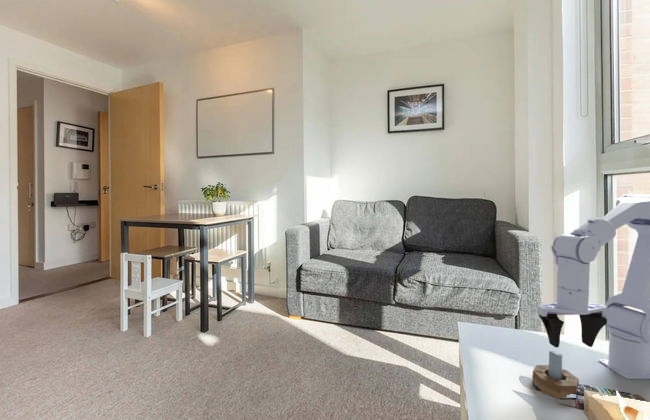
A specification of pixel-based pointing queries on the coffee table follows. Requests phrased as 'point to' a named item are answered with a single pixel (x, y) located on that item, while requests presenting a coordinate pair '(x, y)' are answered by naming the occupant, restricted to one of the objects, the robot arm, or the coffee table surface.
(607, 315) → the robot arm
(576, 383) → the wooden octagonal ring
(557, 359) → the dowel
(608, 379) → the coffee table surface
